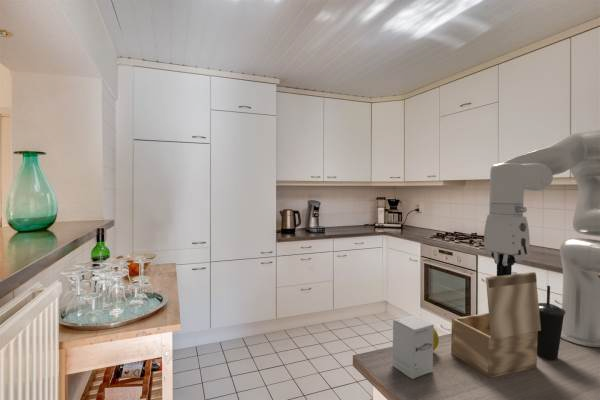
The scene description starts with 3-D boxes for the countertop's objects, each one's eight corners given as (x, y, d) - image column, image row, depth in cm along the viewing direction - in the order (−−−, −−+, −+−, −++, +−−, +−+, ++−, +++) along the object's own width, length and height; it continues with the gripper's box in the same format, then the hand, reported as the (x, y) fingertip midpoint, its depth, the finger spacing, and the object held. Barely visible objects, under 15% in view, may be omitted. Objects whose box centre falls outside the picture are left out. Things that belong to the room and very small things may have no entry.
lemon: (440, 357, 90) (440, 329, 90) (419, 355, 91) (419, 327, 91) (436, 348, 96) (436, 321, 95) (416, 346, 97) (416, 320, 97)
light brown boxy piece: (493, 344, 98) (494, 311, 98) (536, 366, 86) (537, 329, 85) (451, 352, 93) (451, 318, 93) (490, 377, 81) (491, 338, 80)
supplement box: (412, 380, 80) (413, 329, 79) (391, 365, 86) (392, 318, 86) (433, 372, 83) (434, 324, 83) (411, 359, 90) (412, 314, 89)
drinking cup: (527, 356, 91) (529, 286, 91) (532, 346, 97) (534, 280, 96) (562, 366, 86) (565, 292, 85) (565, 355, 92) (567, 285, 91)
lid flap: (533, 272, 87) (535, 272, 86) (538, 329, 86) (541, 330, 85) (485, 277, 81) (488, 277, 81) (490, 338, 80) (493, 339, 80)
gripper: (545, 212, 79) (542, 286, 80) (492, 208, 93) (490, 271, 94) (522, 212, 77) (520, 289, 78) (471, 208, 91) (469, 273, 92)
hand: (503, 279), depth 86 cm, fingers closed
